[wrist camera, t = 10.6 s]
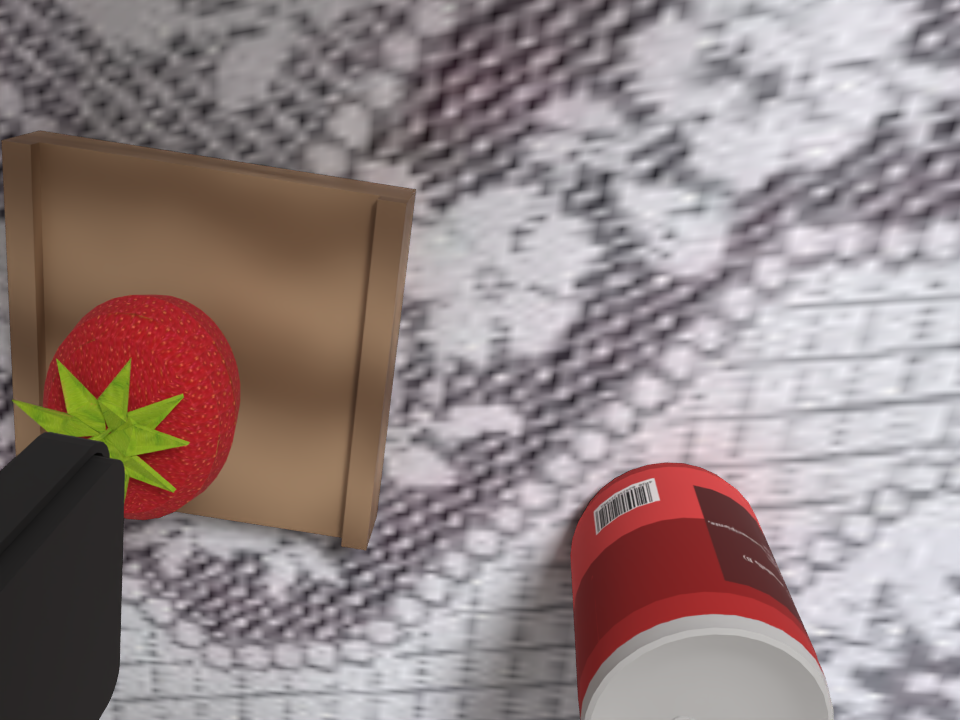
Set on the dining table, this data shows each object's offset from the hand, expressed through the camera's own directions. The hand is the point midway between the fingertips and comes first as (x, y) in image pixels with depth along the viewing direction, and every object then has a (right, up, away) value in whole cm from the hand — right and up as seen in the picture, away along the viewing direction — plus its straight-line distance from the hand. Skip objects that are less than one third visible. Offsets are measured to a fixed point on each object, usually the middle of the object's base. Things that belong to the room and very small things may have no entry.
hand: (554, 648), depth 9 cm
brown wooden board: (-11, +4, +27) cm, 29 cm away
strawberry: (-11, +3, +25) cm, 28 cm away
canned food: (+7, -4, +29) cm, 30 cm away
